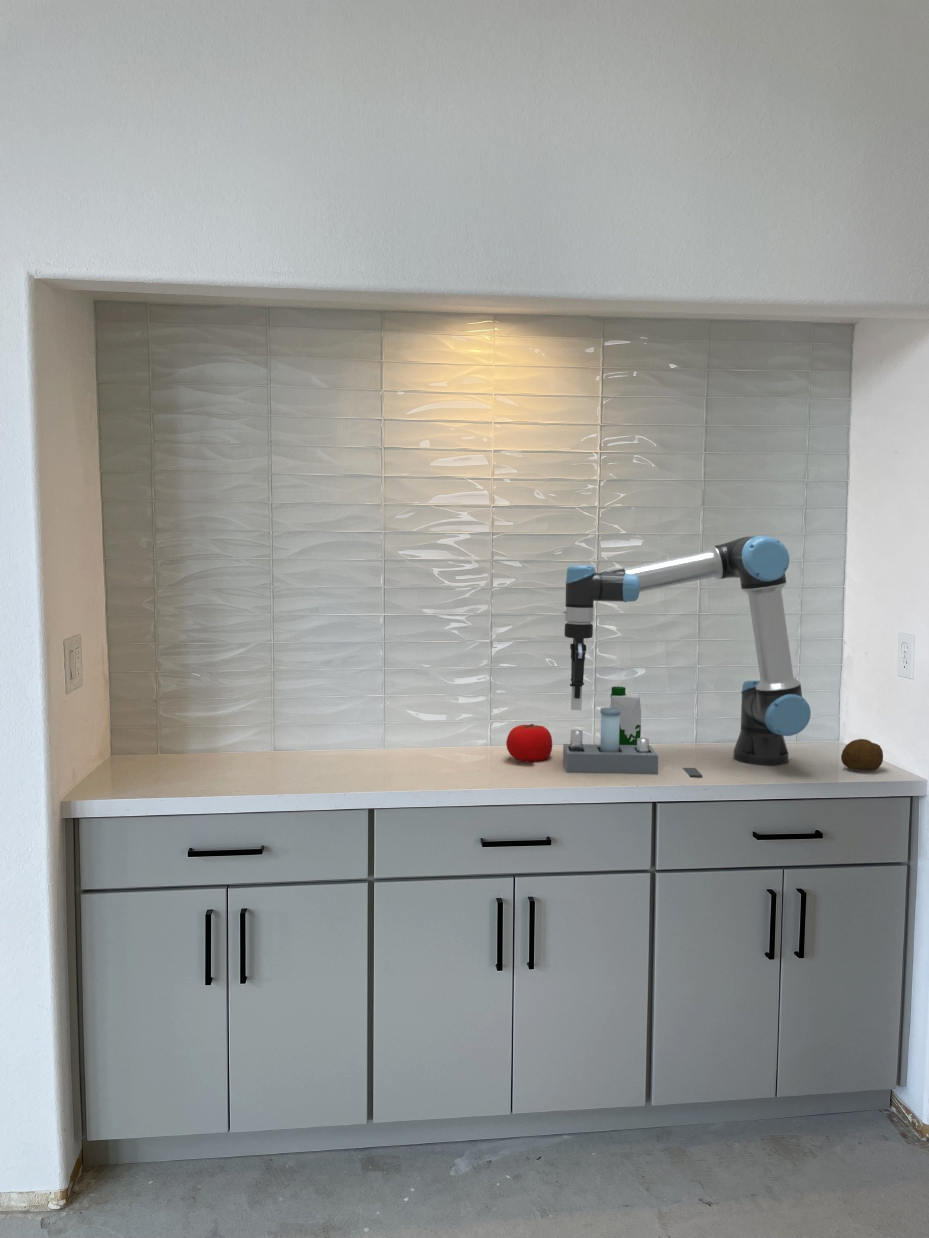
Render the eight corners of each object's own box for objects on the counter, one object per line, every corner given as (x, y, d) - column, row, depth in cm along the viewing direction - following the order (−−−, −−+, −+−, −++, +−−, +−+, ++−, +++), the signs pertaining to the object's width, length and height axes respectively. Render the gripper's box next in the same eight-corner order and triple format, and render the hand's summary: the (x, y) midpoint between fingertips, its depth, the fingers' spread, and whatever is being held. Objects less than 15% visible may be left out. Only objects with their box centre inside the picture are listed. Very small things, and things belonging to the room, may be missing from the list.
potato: (892, 774, 245) (894, 742, 244) (849, 774, 244) (851, 742, 243) (877, 766, 253) (878, 736, 252) (835, 766, 252) (837, 736, 252)
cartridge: (617, 765, 247) (619, 707, 245) (620, 770, 241) (622, 711, 240) (597, 765, 247) (599, 707, 246) (600, 769, 241) (601, 711, 240)
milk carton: (609, 751, 268) (610, 684, 266) (640, 753, 266) (642, 686, 265) (607, 758, 260) (609, 689, 258) (639, 759, 258) (641, 690, 256)
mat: (695, 770, 247) (695, 767, 247) (702, 777, 239) (702, 775, 239) (666, 769, 247) (666, 767, 247) (672, 777, 239) (672, 774, 239)
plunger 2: (647, 762, 245) (648, 737, 245) (649, 765, 242) (650, 740, 242) (635, 762, 245) (636, 737, 245) (637, 765, 242) (638, 740, 242)
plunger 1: (581, 754, 246) (581, 729, 245) (582, 756, 242) (583, 732, 242) (569, 754, 246) (570, 729, 245) (570, 756, 242) (571, 731, 242)
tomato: (544, 768, 247) (545, 730, 246) (500, 764, 251) (500, 727, 250) (557, 757, 260) (558, 721, 259) (515, 753, 265) (516, 718, 264)
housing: (649, 766, 250) (650, 745, 249) (657, 777, 238) (658, 755, 237) (562, 765, 250) (563, 743, 250) (566, 776, 238) (567, 753, 238)
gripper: (562, 620, 248) (560, 705, 250) (567, 624, 235) (564, 713, 237) (590, 621, 248) (587, 705, 249) (595, 625, 235) (592, 714, 236)
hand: (576, 709), depth 243 cm, fingers closed
